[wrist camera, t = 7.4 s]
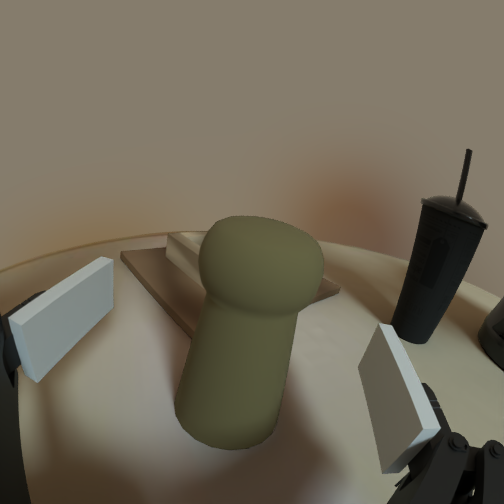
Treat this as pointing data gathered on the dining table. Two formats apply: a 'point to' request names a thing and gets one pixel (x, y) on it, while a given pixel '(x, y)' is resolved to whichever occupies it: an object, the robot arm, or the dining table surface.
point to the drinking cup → (437, 261)
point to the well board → (183, 277)
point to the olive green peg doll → (245, 328)
